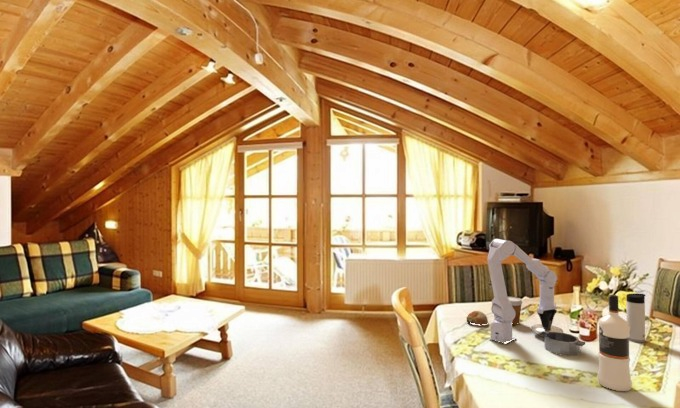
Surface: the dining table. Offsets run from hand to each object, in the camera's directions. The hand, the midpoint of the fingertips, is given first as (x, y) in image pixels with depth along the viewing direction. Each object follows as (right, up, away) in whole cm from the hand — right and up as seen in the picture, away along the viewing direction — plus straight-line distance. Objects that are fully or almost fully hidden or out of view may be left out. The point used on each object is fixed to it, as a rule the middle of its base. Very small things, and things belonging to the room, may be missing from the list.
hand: (546, 326), depth 168 cm
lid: (0, -3, 0) cm, 3 cm away
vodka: (-2, -5, -44) cm, 45 cm away
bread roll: (-24, -5, +19) cm, 31 cm away
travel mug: (+35, -4, -6) cm, 36 cm away
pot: (-2, -5, -15) cm, 16 cm away
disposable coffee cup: (-7, -5, +19) cm, 20 cm away
